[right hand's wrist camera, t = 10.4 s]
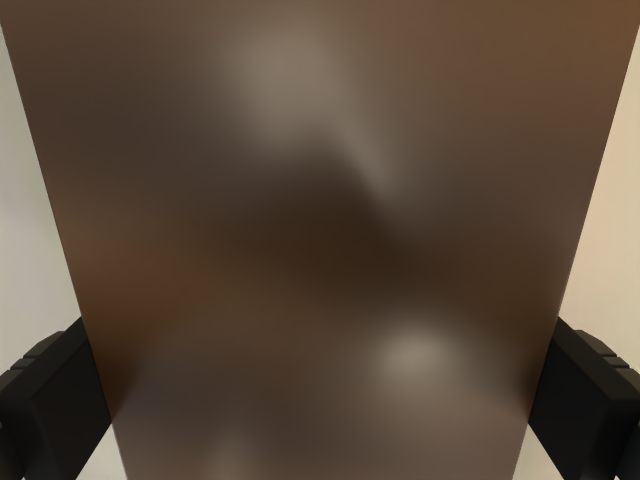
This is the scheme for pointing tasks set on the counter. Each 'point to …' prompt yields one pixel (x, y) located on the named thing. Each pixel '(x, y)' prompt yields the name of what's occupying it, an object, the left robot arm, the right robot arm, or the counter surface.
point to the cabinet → (319, 219)
